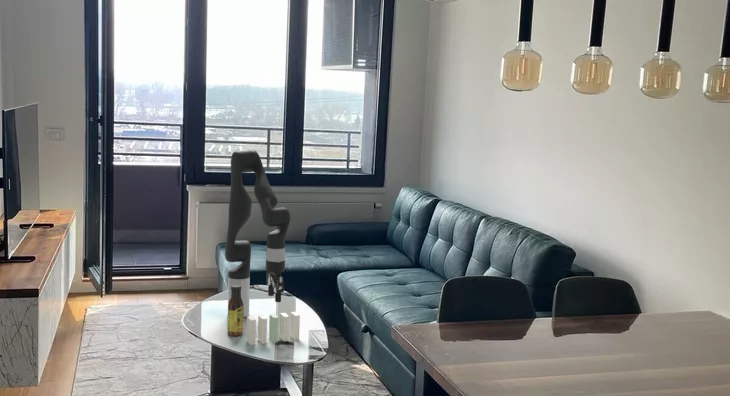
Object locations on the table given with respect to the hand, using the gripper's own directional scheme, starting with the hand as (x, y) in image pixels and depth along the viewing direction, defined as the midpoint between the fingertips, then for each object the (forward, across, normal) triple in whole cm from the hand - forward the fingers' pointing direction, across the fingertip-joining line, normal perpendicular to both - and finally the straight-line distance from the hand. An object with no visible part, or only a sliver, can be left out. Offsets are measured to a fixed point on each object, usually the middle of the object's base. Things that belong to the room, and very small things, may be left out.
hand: (274, 298), depth 271 cm
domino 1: (+17, 0, -9) cm, 19 cm away
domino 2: (+17, 0, -5) cm, 17 cm away
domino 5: (+17, 0, +9) cm, 19 cm away
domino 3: (+17, 0, 0) cm, 17 cm away
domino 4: (+17, 0, +4) cm, 17 cm away
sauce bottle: (+17, -12, -12) cm, 24 cm away
